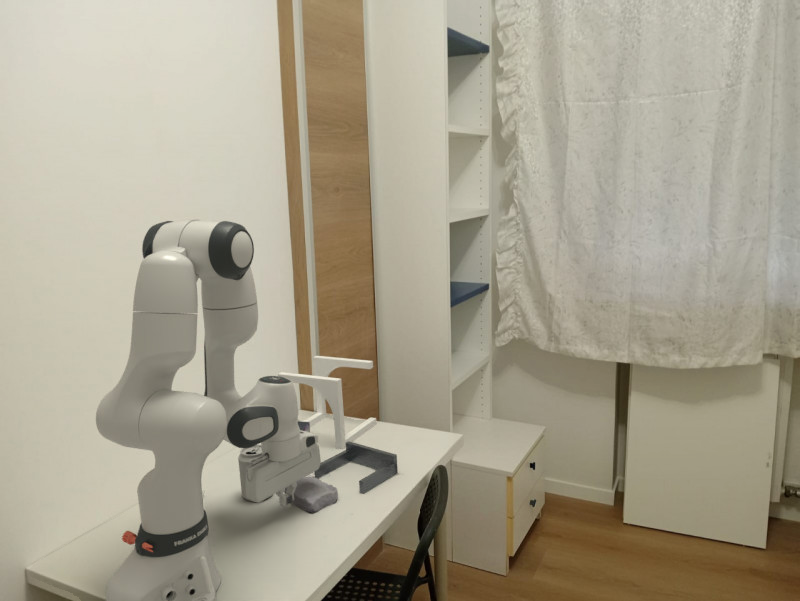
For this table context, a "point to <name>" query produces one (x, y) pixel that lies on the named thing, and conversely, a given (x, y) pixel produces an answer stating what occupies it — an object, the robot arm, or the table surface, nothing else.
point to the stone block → (313, 494)
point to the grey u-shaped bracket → (366, 457)
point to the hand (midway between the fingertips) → (287, 502)
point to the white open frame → (332, 395)
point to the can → (244, 461)
